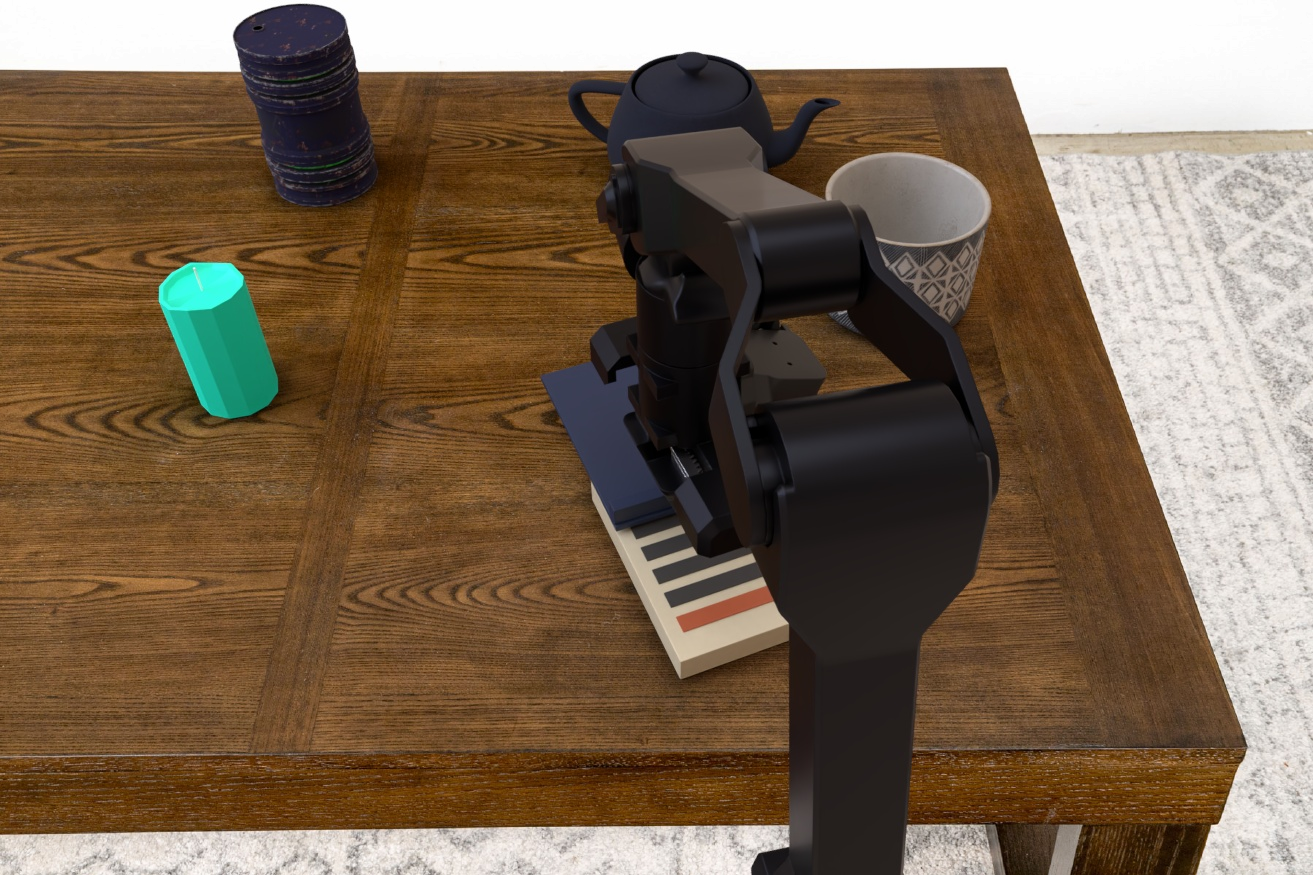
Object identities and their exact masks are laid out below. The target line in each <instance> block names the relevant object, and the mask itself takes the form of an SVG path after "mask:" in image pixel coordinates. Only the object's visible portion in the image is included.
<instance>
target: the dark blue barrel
mask: <svg viewBox="0 0 1313 875" xmlns="http://www.w3.org/2000/svg"><path fill="white" fill-rule="evenodd" d="M232 40H233V44H234V48H235V50H236V52H237V58H238V62H239V69H240V73H241V76H242V80H243V81H244V83H245V91H246V94H247V96H249V100H250V101H251V102H252V103H253V105H254V107H255V111H256V115H257V117H258V122H259V125H260V128H261V129H260V143H261V146H262V148H263V150H264V157H265V160H266V163H267V166H268V168H269V169H270V173H271V175H272V178H273V182H274V186H275V190H276V192H277V193H278V194H279V196H280V197H281V198H282V199H284V200H286V201H287V202H289V203H292V204H293V205H294V204H295V205H298V206H303V207H311V208H315V207H316V208H317V207H319V208H320V207H330V206H336V205H340V204H343V203H346V202H349V201H353V200H355V199H357V198H358V197H360V196H362V195H364V194H365V193H366V192H367V191H369V190H370V189H371V188H372V187H373V185H374V184H375V183H376V181H377V179H378V176H379V170H378V165H377V161H376V160H375V157H376V156H375V145H374V140H373V136H372V133H371V126H370V123H369V120H368V117H367V115H366V114H365V113H364V111H363V107H362V102H361V97H360V92H359V88H358V87H359V84H360V79H359V78H360V76H359V75H360V73H359V69H358V67H357V60H356V54H355V50H354V46H353V45H352V41H351V37H350V35H349V27H348V23H347V18H346V17H345V16H344V14H342V13H341V11H338V10H336V9H335V8H332V7H330V6H326V5H322V4H315V3H288V4H281V5H277V6H272V7H269V8H265V9H262V10H259V11H257V12H255V13H253V14H251V15H249V16H247V17H245V18H244V19H243V20H242V21H240V22H239V23H238V24H237V25H236V26H235V28H234V30H233V32H232Z"/></svg>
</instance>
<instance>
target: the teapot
mask: <svg viewBox="0 0 1313 875" xmlns="http://www.w3.org/2000/svg"><path fill="white" fill-rule="evenodd" d="M591 93H592V94H603V95H612V96H618V97H619V99H618V101H617V102H616V105H615V108H614V110H613V112H612V116H611V119H610V122H609V128H607V127H606V126H605V125H603V124H602V123H601V122H600V121H599V120H597V119H596V117H594V116H593V114H592V113H591V112H590V111H589V109H588V108H587V106H586V104H585V102H584V98H583V96H582V95H583V94H591ZM764 99H765V98H764V97H763V93H762V92H761V90H760V88H759V86H758V83H757V81H756V80H755V77H754V76H753V74H751V72H750V71H749V70H747V68H745V67H744V66H742V65H741V64H740V63H738V62H736V61H734V60H731V59H728V58H726V57H722V56H718V55H715V54H714V55H713V54H707V53H702V52H698V51H685V52H682V53H675V54H669V55H664V56H660V57H657V58H654V59H652V60H649V61H648V62H646V63H643V64H642V65H640V66H639V67H638V68H637V69H635V71H634V72H633V73H632V74H631V75H630V77H629V78H628V80H627V82H625V81H624V82H623V81H617V80H616V81H615V80H604V79H581V80H578V81H576V82H574V83H572V85H571V86H570V87H569V89H568V93H567V100H568V101H567V102H568V105H569V109H570V111H571V112H572V114H573V116H574V117H575V120H577V121H578V123H579V124H580V125H581V126H582V127H583V128H584V129H585V130H586V131H587V132H589V133H590V134H591V135H592V136H593V137H595V138H596V139H598V140H599V141H601V142H602V143H604V144H606V151H607V157H608V161H609V163H610V167H611V166H612V165H615V164H625V163H626V161H623V158H622V153H621V149H622V146H623V144H624V143H625V142H626V141H627V140H633V139H642V138H650V137H659V136H667V135H676V134H684V133H692V132H701V131H709V130H718V129H726V128H735V127H741V128H743V129H744V130H745V131H746V132H747V133H748V134H749V135H750V136H751V137H752V138H753V139H754V140H755V141H756V142H757V143H758V144H759V145H760V146H761V147H762V151H763V153H764V156H765V158H766V161H767V166H768V170H769V169H773V168H777V167H780V166H783V165H784V164H786V163H788V162H789V161H790V160H792V158H794V157H795V155H796V154H797V153H798V152H799V150H800V148H801V146H802V144H803V142H804V140H805V138H806V137H807V136H806V135H807V133H808V131H809V129H810V127H811V125H812V123H813V121H814V120H815V118H816V117H817V116H818V115H819V114H821V113H822V112H824V111H826V110H828V109H831V108H835V107H838V106H840V105H841V104H842V102H841V100H839V99H835V98H830V97H815V98H811V99H809V100H808V101H806V102H805V103H804V104H803V105H802V106H801V107H800V108H799V110H798V112H797V113H796V115H795V118H794V120H793V122H792V123H791V124H790V126H788V127H787V128H785V129H780V130H774V125H773V120H772V118H771V115H770V112H769V108H768V106H767V104H766V101H765V100H764Z"/></svg>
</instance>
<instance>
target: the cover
mask: <svg viewBox="0 0 1313 875" xmlns="http://www.w3.org/2000/svg"><path fill="white" fill-rule="evenodd" d="M616 380H617V381H616V382H613V383H609V384H606V385H604V383H603V382H602V380H601V378H600V376H599V374H598V372H597V371H596V369H595V367H594V365H593V363H592V361H591V360H590V361H588V362H584V363H580V364H577V365H572V366H570V367H566V368H562V369H559V370H556V371H551V372H547V373H545V374H540V381H541V383H542V385H543V388H544V389H545V391H546V393H547V395H548V397H549V399H550V401H551V404H552V405H553V408H554V409H555V411H556V413H557V415H558V417H559V419H560V421H561V423H562V425H563V427H564V430H565V431H566V434H567V435H568V438H569V440H570V442H571V444H572V446H573V448H574V449H575V452H576V454H577V455H578V458H579V460H580V462H581V464H582V466H583V468H584V470H585V471H586V474H587V476H588V478H589V480H590V483H591V482H592V484H593V486H594V488H595V490H596V492H597V494H598V496H599V498H600V500H601V502H602V504H603V506H604V508H605V510H606V512H607V514H608V516H609V518H610V520H611V522H612V524H613V526H614V528H615V530H616V532H617V531H620V530H624V529H627V528H630V527H633V526H636V525H639V524H642V523H646V522H649V521H652V520H655V519H658V518H661V517H664V516H667V515H671V514H674V513H676V512H675V510H674V509H673V507H672V506H671V504H670V503H669V501H668V500H667V498H666V497H665V496H664V495H663V494H662V492H661V491H660V489H659V487H658V485H657V483H656V482H655V480H654V478H653V476H652V474H651V472H650V471H649V469H648V467H647V465H646V462H645V460H644V458H643V457H642V455H641V454H640V452H639V450H638V449H637V447H636V445H635V443H634V441H633V439H632V438H631V436H630V434H629V432H628V430H627V428H626V427H625V425H624V422H623V418H624V416H625V415H626V414H628V413H630V412H634V411H635V410H634V408H633V406H632V404H631V402H630V401H629V399H628V386H631V385H634V384H638V383H639V382H638V367H637V366H636V365H635V366H632V367H628V368H624V369H621V370H617V371H616Z"/></svg>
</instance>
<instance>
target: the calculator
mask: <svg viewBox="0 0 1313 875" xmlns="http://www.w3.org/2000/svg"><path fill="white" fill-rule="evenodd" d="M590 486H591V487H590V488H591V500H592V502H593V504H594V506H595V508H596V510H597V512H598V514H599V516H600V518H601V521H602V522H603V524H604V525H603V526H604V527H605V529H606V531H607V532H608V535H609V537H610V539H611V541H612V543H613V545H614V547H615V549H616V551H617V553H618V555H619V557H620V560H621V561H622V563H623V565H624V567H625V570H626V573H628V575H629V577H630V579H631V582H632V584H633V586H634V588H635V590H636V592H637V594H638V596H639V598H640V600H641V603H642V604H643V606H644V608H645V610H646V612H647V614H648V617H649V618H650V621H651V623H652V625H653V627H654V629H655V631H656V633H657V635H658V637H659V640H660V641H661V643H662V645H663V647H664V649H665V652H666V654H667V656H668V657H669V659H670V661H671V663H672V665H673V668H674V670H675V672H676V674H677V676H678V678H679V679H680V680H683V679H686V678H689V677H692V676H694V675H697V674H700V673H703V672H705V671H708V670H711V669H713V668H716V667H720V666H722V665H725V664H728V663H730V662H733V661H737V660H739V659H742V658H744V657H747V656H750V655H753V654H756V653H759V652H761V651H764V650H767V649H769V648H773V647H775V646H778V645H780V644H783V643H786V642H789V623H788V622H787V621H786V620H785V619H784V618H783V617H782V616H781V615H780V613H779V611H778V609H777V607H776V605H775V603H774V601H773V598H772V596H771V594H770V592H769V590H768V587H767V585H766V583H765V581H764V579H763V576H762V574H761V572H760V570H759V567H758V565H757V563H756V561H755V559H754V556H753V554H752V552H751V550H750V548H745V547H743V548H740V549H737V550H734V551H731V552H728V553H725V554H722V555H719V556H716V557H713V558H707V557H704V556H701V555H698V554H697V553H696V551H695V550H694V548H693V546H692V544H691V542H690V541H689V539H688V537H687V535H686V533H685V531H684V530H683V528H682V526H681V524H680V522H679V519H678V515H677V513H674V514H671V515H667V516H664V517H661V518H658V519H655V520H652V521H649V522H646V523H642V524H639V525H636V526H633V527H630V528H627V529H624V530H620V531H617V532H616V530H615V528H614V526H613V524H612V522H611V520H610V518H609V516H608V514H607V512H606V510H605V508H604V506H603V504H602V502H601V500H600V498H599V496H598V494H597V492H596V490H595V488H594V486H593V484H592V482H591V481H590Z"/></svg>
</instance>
